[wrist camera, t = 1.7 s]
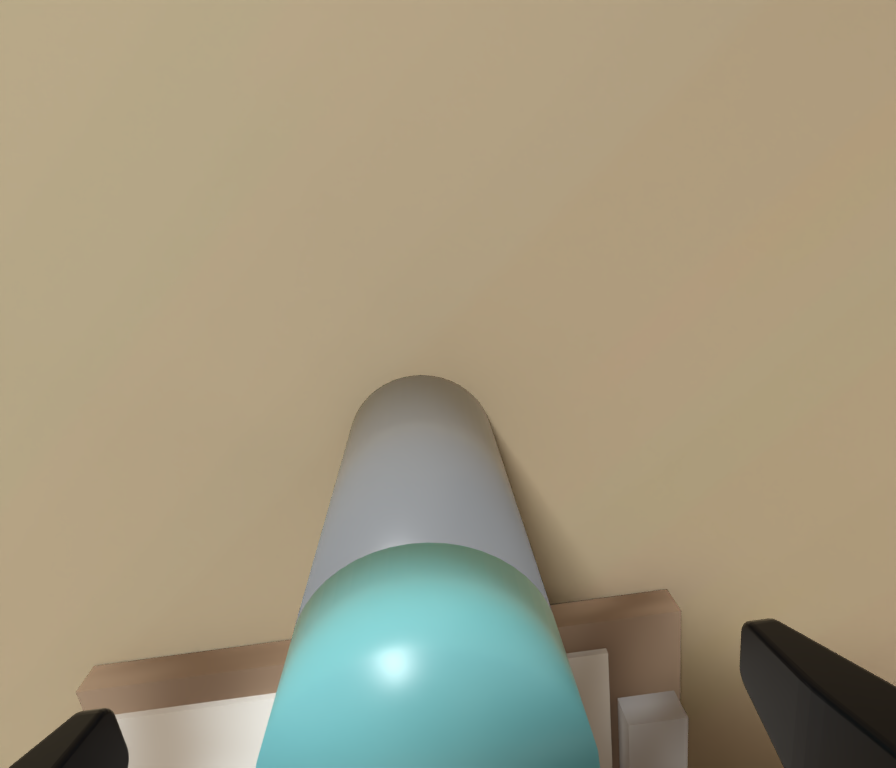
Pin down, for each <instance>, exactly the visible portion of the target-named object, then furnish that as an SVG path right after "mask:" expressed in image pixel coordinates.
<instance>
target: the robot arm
mask: <svg viewBox="0 0 896 768" xmlns="http://www.w3.org/2000/svg"><path fill="white" fill-rule="evenodd" d="M740 673H741V677H742V680H743V683H744V686H745V688H746V690H747V692H748V694H749V696H750V698H751V700H752V702H753V704H754V706H755V709H756V711H757V713H758V715H759V717H760V719H761V721H762V723H763V725H764V727H765V729H766V731H767V733H768V735H769V737H770V739H771V742H772V744H773V746H774V748H775V750H776V752H777V754H778V756H779V758H780V760H781V762H782V764H783V766H784V768H896V686H894V685H892V684H890V683H889V682H887V681H885V680H883V679H881V678H880V677H878V676H876V675H874V674H872V673H871V672H869V671H867V670H865V669H863V668H862V667H860V666H858V665H856V664H855V663H853V662H851V661H849V660H847V659H846V658H844V657H842V656H840V655H838V654H837V653H835V652H833V651H831V650H829V649H828V648H826V647H824V646H822V645H821V644H819V643H817V642H815V641H813V640H812V639H810V638H808V637H806V636H804V635H803V634H801V633H799V632H797V631H795V630H794V629H792V628H790V627H788V626H787V625H785V624H783V623H781V622H779V621H777V620H775V619H761V620H754V621H748V622H746V623H744V625H743V627H742V631H741V650H740ZM128 764H129V752H128V748H127V745H126V742H125V740H124V737H123V735H122V732H121V729H120V727H119V724H118V722H117V719H116V716H115V714H114V712H113V711H112V710H110V709H109V708H100V709H92V710H85V711H81V712H78V713H76V714H75V715H73V716H72V717H71V718H70V719H68V720H67V721H66V722H65V723H63V724H62V725H61V726H60V727H58V728H57V729H56V730H55V731H54V732H52V733H51V734H50V735H49V736H47V737H46V738H45V739H44V740H42V741H41V742H40V743H39V744H37V745H36V746H35V747H34V748H33V749H31V750H30V751H29V752H28V753H26V754H25V755H24V756H23V757H21V758H20V759H19V760H18V761H16V762H15V763H14V764H13V765H12V766H10V767H9V768H128Z"/></svg>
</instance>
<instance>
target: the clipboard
mask: <svg viewBox="0 0 896 768" xmlns="http://www.w3.org/2000/svg"><path fill="white" fill-rule="evenodd" d="M550 606H551V609H552V612H553V615H554V618H555V621H556V625H557V628H558V631H559V634H560V637H561V640H562V643H563V646H564V649H565V652H566V655H567V658H568V661H569V664H570V667H571V670H572V673H573V676H574V679H575V682H576V685H577V688H578V691H579V694H580V697H581V700H582V703H583V706H584V709H585V712H586V715H587V718H588V721H589V724H590V727H591V730H592V733H593V736H594V739H595V742H596V746H597V749H598V754H599V762H600V768H688V716H687V714H686V712H685V710H684V708H683V706H682V705H681V703H680V671H681V610H680V608H679V607H678V605H677V604H676V602H675V601H674V599H673V597H672V596H671V594H670V593H669V591H668V590H667V589H666V590H658V591H651V592H643V593H636V594H628V595H621V596H613V597H606V598H599V599H591V600H584V601H576V602H569V603H561V604H554V605H550ZM290 642H291V640H285V641H278V642H270V643H263V644H255V645H248V646H240V647H233V648H225V649H218V650H210V651H203V652H195V653H188V654H181V655H173V656H166V657H158V658H151V659H143V660H136V661H128V662H121V663H113V664H106V665H98V666H94V667H93V668H92V670H91V671H90V673H89V674H88V675H87V677H86V678H85V680H84V681H83V683H82V684H81V686H80V687H79V689H78V690H77V691H76V694H77V696H78V699H79V701H80V704H81V706H82V709H83V711H85V710H92V709H100V708H109V709H110V710H112V711H113V712H114V714H115V716H116V719H117V722H118V724H119V727H120V729H121V732H122V735H123V737H124V740H125V742H126V745H127V748H128V752H129V764H128V768H256V763H257V759H258V755H259V752H260V748H261V745H262V741H263V738H264V734H265V731H266V727H267V724H268V720H269V717H270V713H271V710H272V706H273V702H274V699H275V695H276V692H277V688H278V685H279V681H280V678H281V674H282V671H283V667H284V664H285V660H286V656H287V653H288V649H289V646H290Z"/></svg>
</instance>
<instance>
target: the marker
mask: <svg viewBox="0 0 896 768" xmlns="http://www.w3.org/2000/svg"><path fill="white" fill-rule="evenodd" d="M256 768H600V762H599V754H598V749H597V746H596V742H595V739H594V736H593V733H592V730H591V727H590V724H589V721H588V718H587V715H586V712H585V709H584V706H583V703H582V700H581V697H580V694H579V691H578V688H577V685H576V682H575V679H574V676H573V673H572V670H571V667H570V664H569V661H568V658H567V655H566V652H565V649H564V646H563V643H562V640H561V637H560V634H559V631H558V628H557V625H556V621H555V618H554V615H553V612H552V609H551V606H550V603H549V600H548V597H547V594H546V591H545V588H544V585H543V582H542V579H541V576H540V573H539V570H538V567H537V564H536V561H535V558H534V555H533V552H532V549H531V546H530V543H529V540H528V537H527V534H526V531H525V528H524V525H523V522H522V519H521V516H520V513H519V510H518V507H517V504H516V501H515V498H514V495H513V492H512V489H511V486H510V483H509V480H508V477H507V474H506V471H505V468H504V465H503V462H502V459H501V456H500V453H499V450H498V447H497V444H496V440H495V437H494V434H493V431H492V428H491V425H490V422H489V419H488V417H487V415H486V413H485V411H484V409H483V407H482V406H481V404H480V403H479V402H478V401H477V399H476V398H475V397H474V396H473V395H472V394H471V393H469V392H468V391H467V390H466V389H464V388H463V387H461V386H460V385H458V384H456V383H454V382H452V381H449V380H446V379H443V378H440V377H435V376H426V375H418V376H409V377H403V378H400V379H397V380H394V381H391V382H389V383H387V384H385V385H383V386H382V387H380V388H379V389H377V390H376V391H375V392H374V393H372V394H371V395H370V396H369V397H368V398H367V399H366V400H365V401H364V403H363V404H362V405H361V407H360V408H359V410H358V412H357V414H356V416H355V418H354V421H353V424H352V427H351V430H350V434H349V437H348V441H347V444H346V448H345V451H344V455H343V459H342V462H341V466H340V469H339V473H338V476H337V480H336V483H335V487H334V490H333V494H332V497H331V501H330V504H329V508H328V512H327V515H326V519H325V522H324V526H323V529H322V533H321V536H320V540H319V543H318V547H317V550H316V554H315V558H314V561H313V565H312V568H311V572H310V575H309V579H308V582H307V586H306V589H305V593H304V596H303V600H302V603H301V607H300V611H299V614H298V618H297V621H296V625H295V628H294V632H293V635H292V639H291V642H290V646H289V649H288V653H287V656H286V660H285V664H284V667H283V671H282V674H281V678H280V681H279V685H278V688H277V692H276V695H275V699H274V702H273V706H272V710H271V713H270V717H269V720H268V724H267V727H266V731H265V734H264V738H263V741H262V745H261V748H260V752H259V755H258V759H257V763H256Z"/></svg>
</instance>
